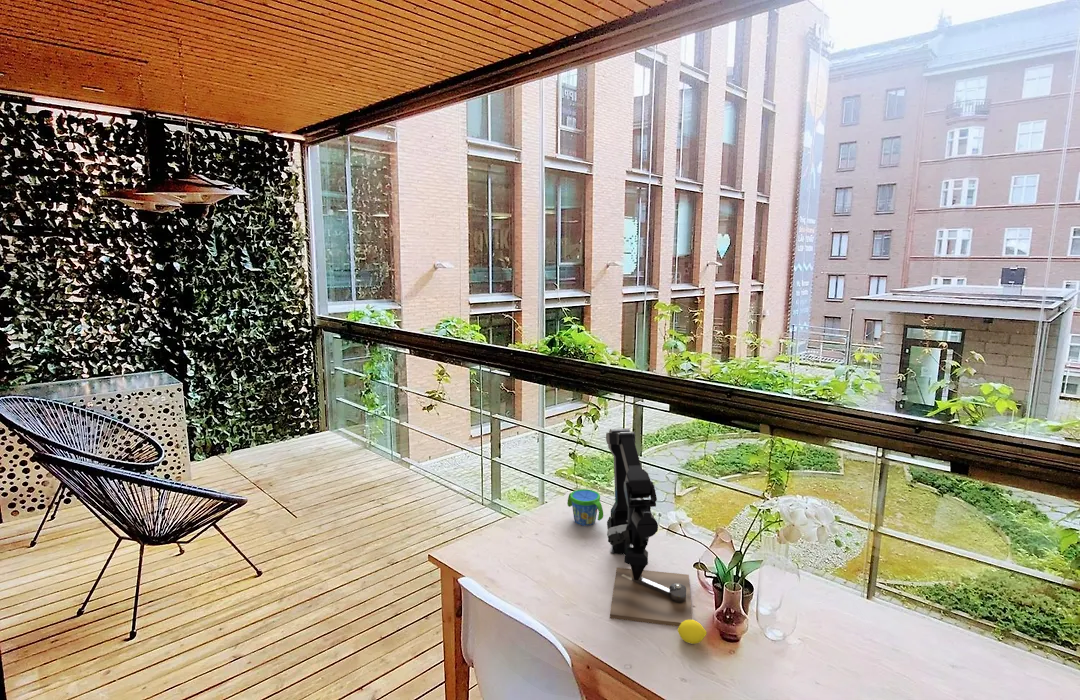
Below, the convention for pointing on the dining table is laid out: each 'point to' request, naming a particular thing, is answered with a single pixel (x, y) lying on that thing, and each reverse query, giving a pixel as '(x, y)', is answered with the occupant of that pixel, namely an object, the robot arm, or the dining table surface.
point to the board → (649, 599)
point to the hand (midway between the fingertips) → (636, 571)
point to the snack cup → (585, 506)
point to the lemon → (691, 631)
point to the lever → (665, 589)
